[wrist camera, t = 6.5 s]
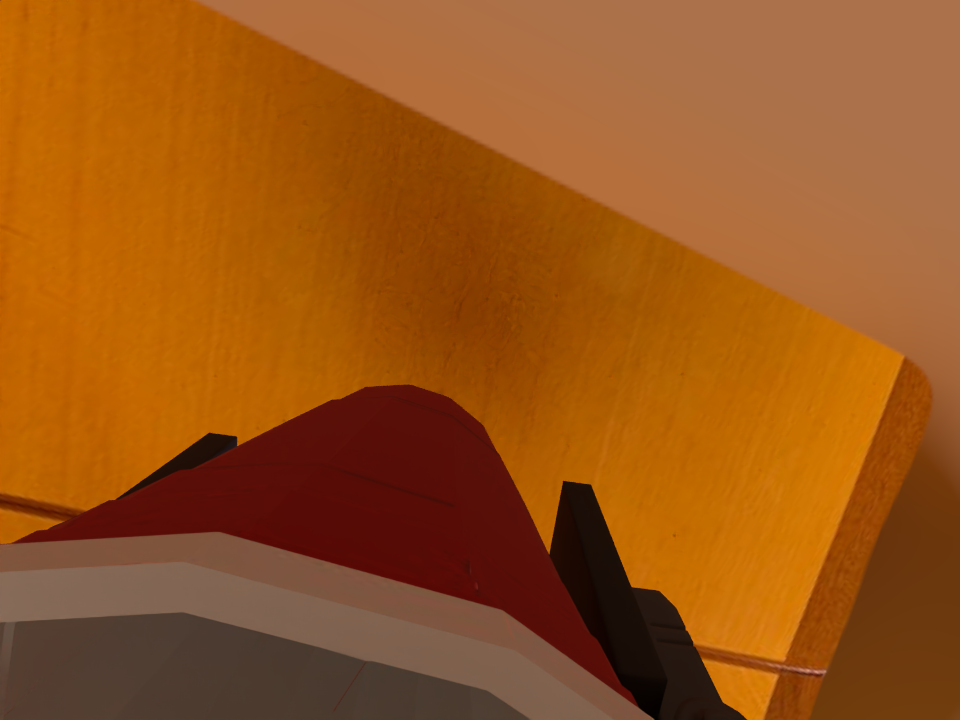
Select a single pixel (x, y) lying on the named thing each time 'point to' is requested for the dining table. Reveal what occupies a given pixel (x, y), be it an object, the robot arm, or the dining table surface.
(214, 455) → the robot arm
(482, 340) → the dining table surface
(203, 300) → the dining table surface
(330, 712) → the plastic cup
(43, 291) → the dining table surface
